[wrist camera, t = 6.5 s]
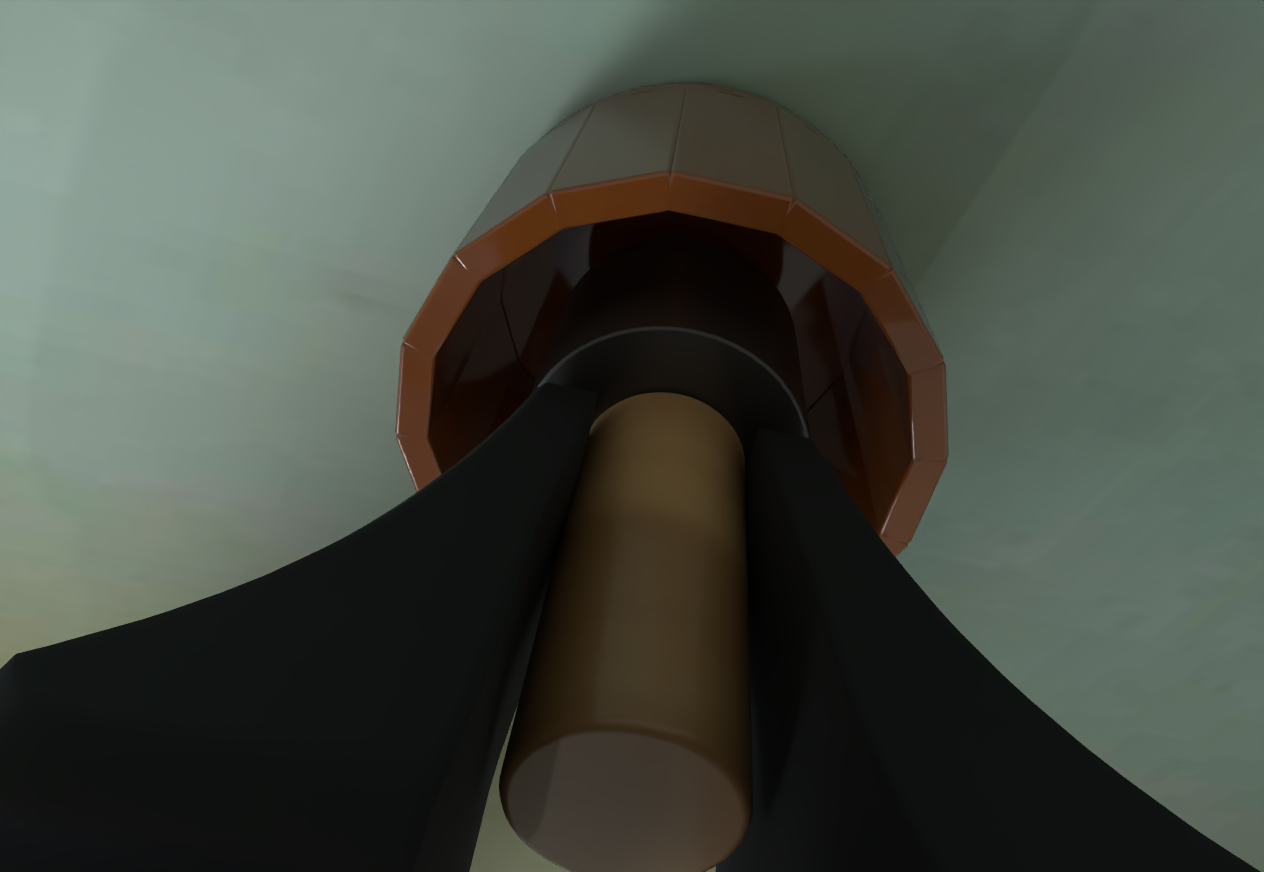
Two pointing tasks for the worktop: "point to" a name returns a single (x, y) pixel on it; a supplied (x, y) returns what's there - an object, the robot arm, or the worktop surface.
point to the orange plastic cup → (705, 210)
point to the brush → (653, 566)
